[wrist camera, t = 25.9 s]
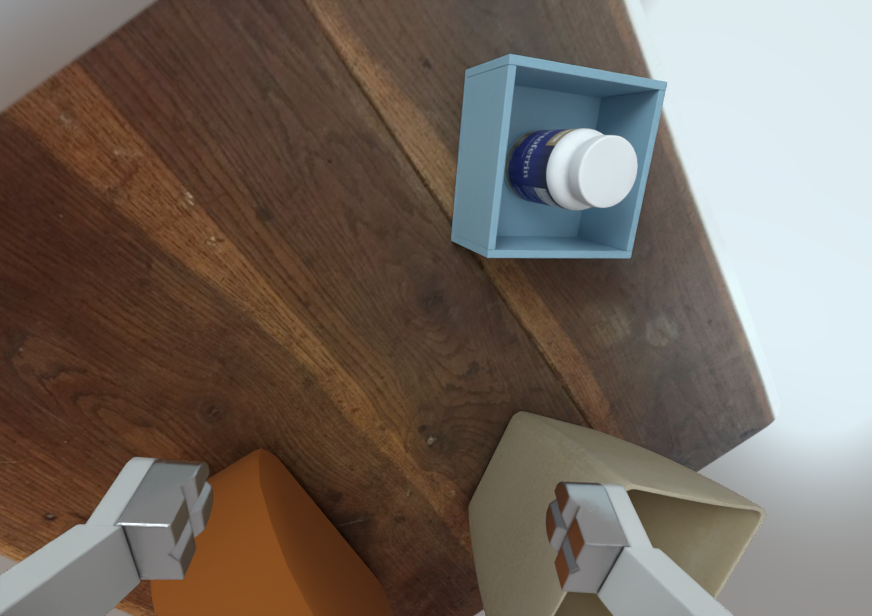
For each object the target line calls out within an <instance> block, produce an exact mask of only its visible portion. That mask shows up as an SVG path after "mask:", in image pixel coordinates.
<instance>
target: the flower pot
mask: <svg viewBox="0 0 872 616" xmlns="http://www.w3.org/2000/svg"><path fill="white" fill-rule="evenodd" d="M561 481H564V482H588V483H599V484H618V485H622V486H623V487H624V488H625V490H626V492H627V494H628V496H629V498H630V500H631V502H632V505H633V507H634V509H635V511H636V513H637V515H638V517H639V519H640V521H641V524H642V526H643V528H644V530H645V532H646V534H647V536H648V538H649V540H650V543H651V545H652V547H653V548H659V549H660V550H661V551H662V552H664V553H665V554H666V555H667V556H668V557H669V558H670V559H671V560H672V561H674V562H675V563H676V564H677V565H678V566H679V567H680V568H681V569H682V570H684V571H685V572H686V573H687V574H688V575H689V576H690V577H691V578H692V579H694V580H695V581H696V582H697V583H698V584H699V585H700V586H701V587H702V588H704V589H705V590H706V591H707V592H708V593H709V594H710V595H711V596H712V597H714V598H715V599H716V598H717V597H718V595H719V593H720V592H721V590H722V589H723V587H724V585H725V584H726V582H727V581H728V579H729V577H730V576H731V574H732V572H733V571H734V569H735V567H736V565H737V564H738V562H739V561H740V559H741V557H742V556H743V554H744V553H745V551H746V549H747V547H748V546H749V544H750V542H751V541H752V539H753V538H754V536H755V534H756V532H757V531H758V529H759V528H760V526H761V525H762V523H763V522H764V520H765V516H766V511H765V509H763V508H762V507H760V506H758V505H757V504H755V503H753V502H752V501H750V500H748V499H746V498H744V497H743V496H741V495H739V494H737V493H736V492H734V491H732V490H730V489H728V488H726V487H724V486H722V485H720V484H719V483H717V482H715V481H712V480H711V479H709V478H707V477H705V476H703V475H701V474H698V473H697V472H695V471H693V470H691V469H689V468H687V467H685V466H683V465H680V464H678V463H676V462H674V461H672V460H670V459H667V458H665V457H663V456H661V455H658V454H656V453H654V452H652V451H649V450H647V449H645V448H642V447H640V446H637V445H635V444H632V443H630V442H627V441H625V440H622V439H619V438H617V437H614V436H611V435H609V434H606V433H603V432H600V431H597V430H594V429H590V428H586V427H583V426H579V425H575V424H571V423H567V422H563V421H559V420H556V419H552V418H548V417H544V416H540V415H536V414H533V413H529V412H524V411H520V412H518V413H516V414H515V415H513V417H512V418H511V420H510V422H509V424H508V426H507V428H506V430H505V432H504V434H503V436H502V438H501V440H500V442H499V444H498V447H497V449H496V451H495V453H494V455H493V457H492V459H491V461H490V463H489V465H488V467H487V469H486V471H485V473H484V475H483V477H482V479H481V481H480V483H479V485H478V487H477V489H476V491H475V493H474V495H473V497H472V499H471V501H470V503H469V506H468V517H469V529H470V536H471V544H472V552H473V558H474V564H475V569H476V575H477V580H478V585H479V589H480V594H481V598H482V603H483V607H484V611H485V615H486V616H613V615H612V614H611V612H610V611H609V610H608V609H607V607H606V606H605V605H604V603H603V602H602V601H601V600H600V598H599V597H598V596H597V595H598V593H582V592H566V591H562V589H561V585H560V582H559V578H558V574H557V571H556V567H555V563H554V562H555V560H556V557H557V555H558V553H557V552H556V551H555V550H554V548H553V547H552V546H551V545H550V544H549V541H548V537H547V532H546V512H547V509H548V506H549V503H551V502H552V501H554V500H555V499H556V496H555V492H554V491H555V488H556V486H557V484H558V483H559V482H561Z"/></svg>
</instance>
